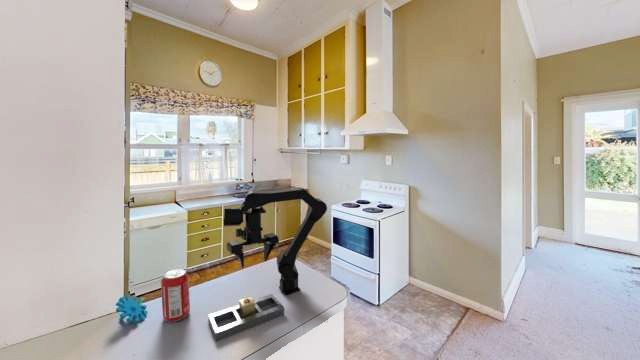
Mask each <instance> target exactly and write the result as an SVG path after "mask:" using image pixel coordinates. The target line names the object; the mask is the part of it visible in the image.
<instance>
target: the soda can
mask: <svg viewBox="0 0 640 360" xmlns="http://www.w3.org/2000/svg"><path fill="white" fill-rule="evenodd" d="M189 278H190V276H189V274H188V273H187V270H186V269H184V268H175V269H171V270H169V271H168V270H167V271H166V272H165V273H164V274H163V275H162V279H161V281H160V290H161V305H162V306H161V308H162V319H163V320H164V321H166V322H177V321H180V320H182V319H184V318H186V317H187V316H188V315H189V314H190V312H191V303H190V302H191V301H190V300H191V299H190V298H191V297H190V279H189Z"/></svg>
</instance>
